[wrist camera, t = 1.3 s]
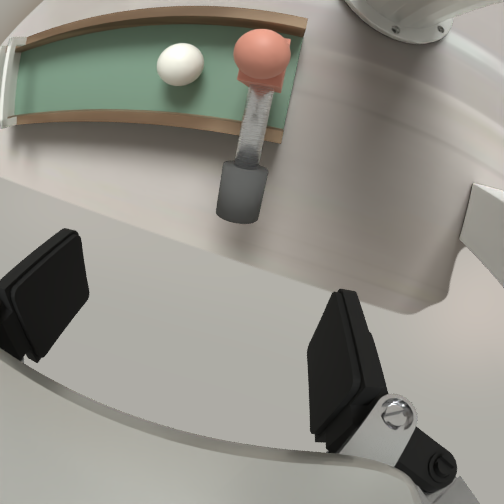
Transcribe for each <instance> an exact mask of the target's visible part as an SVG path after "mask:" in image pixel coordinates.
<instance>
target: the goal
mask: <svg viewBox="0 0 504 504" xmlns="http://www.w3.org/2000/svg"><path fill="white" fill-rule="evenodd" d="M26 40H27V37H12V38H10V39H9V43H8V47H7V46H1V47H0V129H3V128H7V127H10V126H14V125H17V117H12V118H8V119H7V117H9V116H13V115H14V110H15V96H16V85H17V77H18V70H19V63H20V57H21V53H15V48H16V46H24V45H26ZM6 48H7V52H6Z"/></svg>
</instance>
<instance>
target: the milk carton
mask: <svg viewBox="0 0 504 504" xmlns="http://www.w3.org/2000/svg"><path fill="white" fill-rule="evenodd" d="M459 239H460V241H461V242H462V243H463V244H464V245H465V246H466V247H467V248H468V249H469V250H470V251H471V252H472V253H473V254H474V255H475V256H476V257H477V258H478V259H479V260H480V261H481V262H482V263H483V265H484V266H485V267H486V268H487V269H488V270H489V271H490V272H491V273H492V275H493V276H494V277H495V278H496V279H497V280H498V282H499V283H500V284H501V285H502V286H503V288H504V191H503V190H499V189H495V188H492V187H488V186H484V185H480V184H476V183H473V185H472V190H471V195H470V199H469V204H468V208H467V212H466V216H465V220H464V224H463V227H462V231H461V234H460V238H459Z"/></svg>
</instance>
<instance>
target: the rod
mask: <svg viewBox="0 0 504 504" xmlns="http://www.w3.org/2000/svg"><path fill="white" fill-rule="evenodd" d="M290 42H291V39H287V38H283V37H282V36H281V35H280V34H278V33H276V32H274V31H272V30H268V29H255V30H252V31H249V32H247V33H245V34H244V35H242V36H241V37H240V38H239V39H238V41H237V42H236V44H235V47H234V52H233V56H234V61H235V63H236V65H237V67H238V68H239V72H238V77H237V80H238V81H240V82H242V83H243V84H245V85H246V86H248V92H247V97H246V103H245V108H244V113H243V118H242V123H241V129H240V134H239V139H238V145H237V150H236V156H235V161H226V162H224V163H223V169H222V175H221V182H220V188H219V195H218V201H217V208H216V214H217V215H218V216H219V217H220V218H222V219H224V220H226V221H229V222H233V223H239V224H249V223H254V222H256V221H257V220H258V217H259V212H260V208H261V203H262V198H263V194H264V189H265V184H266V180H267V175H268V169H266V168H265V167H263V166H260V165H259V161H260V156H261V151H262V146H263V141H264V136H265V132H266V127H267V122H268V117H269V112H270V108H271V103H272V98H273V93H274V92H277V93H281V91H282V86H283V81H284V77H285V72H286V67H287V66H288V64H289V62H290V57H291V52H290Z"/></svg>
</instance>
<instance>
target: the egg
mask: <svg viewBox="0 0 504 504" xmlns="http://www.w3.org/2000/svg"><path fill="white" fill-rule="evenodd" d="M203 68H204V58H203V55H202V53H201V52H200V50H199V49H198V48H196V47H195V46H193V45H191V44H187V43H178V44H174V45H172V46H169V47H168V48H166V49H165V50H164V51H163V52H162V53H161V55H160V56H159V58H158V61H157V72H158V75H159V76H160V78H161V79H162V80H163V81H164V82H166V83H167V84H170V85H173V86H184V85H187V84H190V83H192V82H193V81H195V80H196V79H197V78H198V77H199V76H200V74H201V73H202V71H203Z"/></svg>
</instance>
